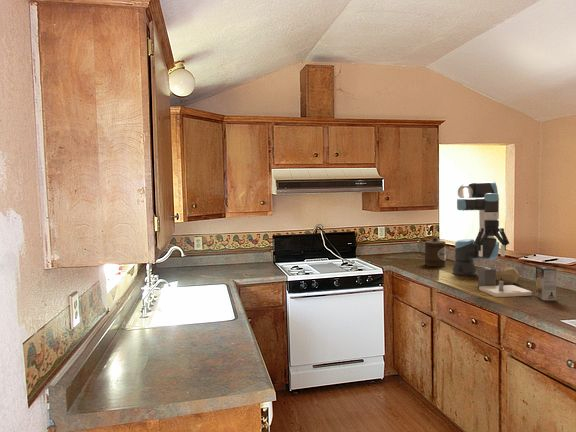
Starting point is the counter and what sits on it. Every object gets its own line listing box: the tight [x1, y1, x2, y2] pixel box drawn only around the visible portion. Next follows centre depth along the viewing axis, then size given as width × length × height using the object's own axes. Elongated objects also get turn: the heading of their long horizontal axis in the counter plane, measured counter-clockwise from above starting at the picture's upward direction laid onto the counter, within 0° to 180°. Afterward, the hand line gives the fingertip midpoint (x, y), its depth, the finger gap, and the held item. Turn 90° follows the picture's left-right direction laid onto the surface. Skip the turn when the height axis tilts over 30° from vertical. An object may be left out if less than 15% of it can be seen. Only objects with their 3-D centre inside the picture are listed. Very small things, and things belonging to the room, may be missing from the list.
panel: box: [478, 281, 533, 298], centre depth 219 cm, size 16×20×7 cm
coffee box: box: [535, 265, 557, 301], centre depth 206 cm, size 9×6×16 cm
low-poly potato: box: [496, 266, 520, 285], centre depth 240 cm, size 15×11×12 cm
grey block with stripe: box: [477, 266, 497, 288], centre depth 231 cm, size 7×7×12 cm
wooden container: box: [424, 236, 447, 268], centre depth 304 cm, size 15×15×22 cm
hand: (491, 256), depth 231 cm, fingers open, 13 cm apart
